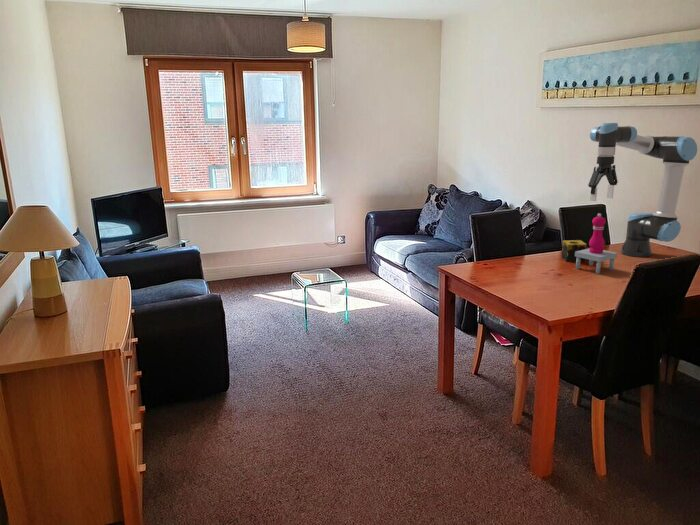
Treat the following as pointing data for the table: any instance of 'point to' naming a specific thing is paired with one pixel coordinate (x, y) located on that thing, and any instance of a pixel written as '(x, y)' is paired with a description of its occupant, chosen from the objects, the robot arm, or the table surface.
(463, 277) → the table surface
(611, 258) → the stool
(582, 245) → the yellow and black cube
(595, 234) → the pepper mill
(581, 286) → the table surface
